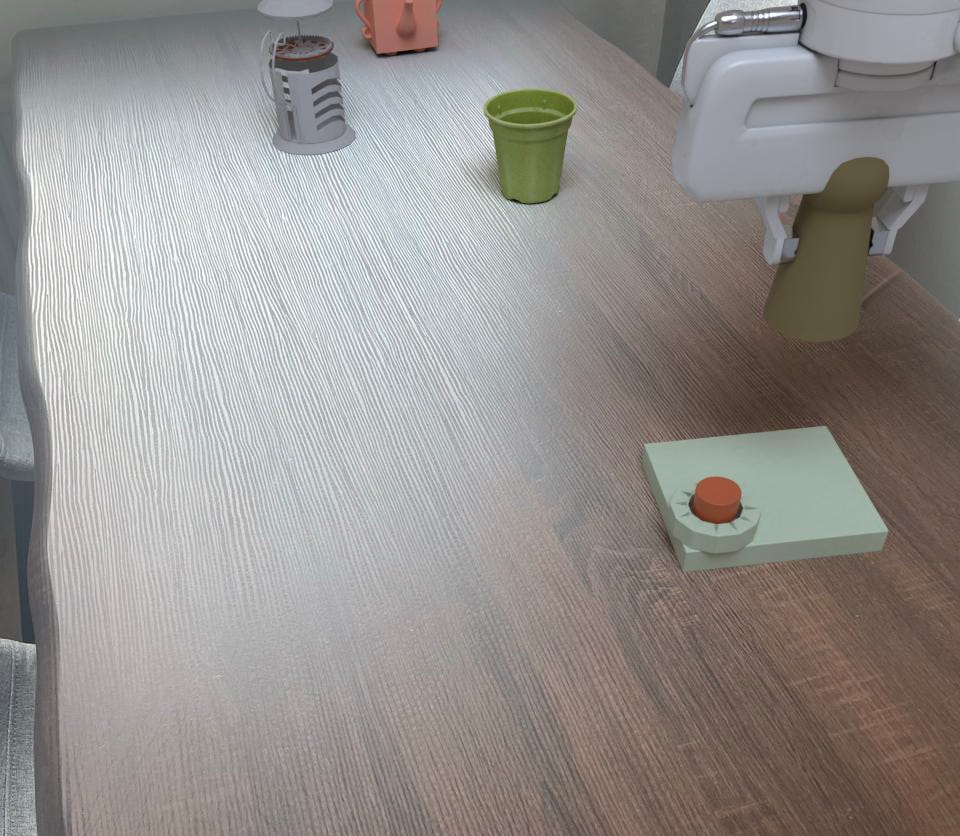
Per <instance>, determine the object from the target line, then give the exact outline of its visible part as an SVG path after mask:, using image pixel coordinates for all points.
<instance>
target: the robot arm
mask: <svg viewBox="0 0 960 836" xmlns="http://www.w3.org/2000/svg"><path fill="white" fill-rule="evenodd" d="M711 31H714V34H708V33H710V32H711ZM680 88H681V93H682V95H683V99H682V103H681V107H680V110H679V115H678V119H677V124H676V129H675V133H674V138H673V144H672V150H671V158H670V167H671V168H670V169H671V172H672V175H673V177H674V179H675V181H676V183H677V184H678V186H679V187H680V189H681V190H682V192H683V193H684V194H685V195H686V197H687V198H688V199H689V200H691V201H692V203H695V204H706V203H717V202H718V203H719V202H720V203H721V202H729V201H730V202H731V201H741V200H742V201H743V200H754V202H755V205H756V208H757V210H758V213H759V215H760V217H761V220H762V223H763V224H764V227H765V228H766V230H765V234H764V235H765V236H764V241H763V245H762V246H763V247H762V254H763V258H764V260H765V261H766V263H767V264H768V266H775V265H776V266H777V265H778V266H779V264H788V263H793V262H794V261H795V259H796V254H795V251H796V250H797V249H798V245H799V240H800V237H799V236H798V234H797V233H796V232H793V231H794V229H793V227H792V226H793V225H791V223H790V224H789V223H788V224H783V223H782V220H781V218H780V215H779V213H787V212H788V211H789V207H790V203H791V200H792V199H791V198H792V196H801V195H802V196H803V194H815V193H821V192H822V191H823V190H824V188H825V186H826V184H827V182H828V180H829V179H830V177H831V175H832V173H833V172H834V171H835V170H836V169H837V168H838V167H839V165H840V164H841V163H843V162H846V161H849V160H852V159H855V158H862V157H875V158H879V159H882V160H884V161H885V163H886V164H887V165H888V167H889V181H888V188H891V189H892V190H893V192H892V194H891V195H890V197H889V198H888V199H887V201H886V202H885V203H884V205H883V206H882V208H881V209H880V210H879V211H878V213H877V214H876V216H873V217H872V225H871V233H870V241H869V249H868V257H879V256H888V255H890V254H892V251H893V247H894V244H895V240H896V237H897V235H898V231H899V230H901V228H902V227H903V226H904V225H905V224H906V223H907V222H908V220H909V219H910V218H911V217H912V216H913V215H914V214H915V213H916V212H917V210H919V208H920V207H921V206H922V205H923V204H924V203H925V201H926V199H927V196H928V192H929V189H930V186H931V185H933V184H934V185H935V184H945V183H946V184H947V183H956V182H957V183H959V182H960V0H797V3H796V4H793V5H784V6H771V7H767V8H761V9H757V10H747V11H745V10H743V9H729V10H724V11H721V12H719V13H716V15H715V17H714V20H710V21H709V22H707V23H704V24H703V25H701V26H700V27H699V28H698V29H697V30H696V31H695V32H694V33H693V35H691V37H690V38H689V39H688V40H687V43H686V46H685V48H684V52H683V60H682V67H681V76H680Z"/></svg>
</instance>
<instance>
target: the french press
mask: <svg viewBox="0 0 960 836" xmlns="http://www.w3.org/2000/svg"><path fill="white" fill-rule="evenodd" d="M333 1H334V0H261V1H260V2H259V3H258V4H257V12H258V13H259V14H260V15H261V16H262V17H263V18H265V19H268V20H272V21H276V22H277V21H278V22H296V26H297V32H298V35H297V34H295V35H292V36H291V35H290V36H286V34H285V32H284V31H282V32H279V34H278V36H277V38H276V39H274V35H273V32H272V29H270V30H269V29H268V30H267V31H266V32H265V34H264V35H263V38H262V40H261V43H260V44H261V45H260V50H259V62H258V64H259V65H258V67H259V73H260V79H261V84H262V87H263V90H264V92H265V93H266V96H267V97H268V98H269V100H270V101H271V102H273V103H274V105H275V113H276V118H277V124H278V129H277V131H276V132H275V133H274V135H272V145H273V146H274V147H275V148H276V149H277V150H279V151H282V152H285V153H288V154H291V155H302V156H311V155H322V154H328V153H331V152H335V151H339V150H341V149H343V148H345V147H347V146H349V145H351V143H352V142H353V141H354V140H355V139H356V131H355V129H353V128H352V127H351V126H350V125H349V124H348V123H347V122H346V118H344V117H345V116H346V114H345V107H344V106H343V105H344V97H343V94H341V93H343V90H342V84H341V83H340V81H341V71H340V63H339V57H338V55H336V54H335V53H334V52H332V51H333V50H334V47H335V46H334V42H333V41H332V40H331V39H330V38H329V37H326V36H322V35H317V34H315V35H314V34H313V35H312V34H307V35H306V34H304V35H303V34H301V27H300V21H303V20H309V19H314V18H317V17H320V16H323V15H325V14H326V13H328V12H329V11H330V10H331V9H332V8H333V5H334V2H333ZM268 35H269V36H270V40H271V42H272V43H271V44H270V45H269V47H268V53H269V54H270V55H271V56H272V57H271V58H270V60H269V62H268V69H269V75H270V81H271V88H272V93H273V97H272V96H271V95H270V93H269V91H268V88H267V86H266V82H265V77H264V72H263V60H262V59H263V51H264V45H265V41H266V38H267V37H268ZM276 69H280V70H283V71H287V72H303V71H306V70H308V73H307V72H306V73H286V75H283V74H282V72H280V71H277V70H276ZM284 83H287V85H288V87H284ZM285 95H289V99H287V98H286V96H285ZM287 106H289V107H291V110H288V109H287V108H288V107H287Z"/></svg>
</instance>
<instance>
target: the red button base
mask: <svg viewBox="0 0 960 836" xmlns="http://www.w3.org/2000/svg"><path fill="white" fill-rule="evenodd" d="M641 457H642V458H641V466H642V468H643V472H644V474H645V476H646V478H647V482H648V483H649V487H650V489H651V492H652V494H653V497H654V500H655V503H656V505H657V508H658V511H659V513H660V516H661V518H662V520H663V524H664V527H665V529H666V532H667V534H668V537H669V540H670V542H671V545H672V548H673V550H674V554H675V555H676V558H677V561H678V563H679V567H680V569H681V571H682V573H692V572H700V571H708V570H719V569H728V568H734V567H735V568H736V567H737V568H738V567H746V566H757V565H765V564H773V563H782V562H783V563H784V562H792V561H801V560H802V561H803V560H811V559H820V558H829V557H830V558H831V557H838V556H839V557H840V556H847V555H848V556H849V555H857V554H866V553H876V552H882V551H883V548H884V545H885V542H886V540H887V537H888V534H889V532H890V531H889V528H888V527H887V525H886V524H885V522H884V520H883V519H882V517H881V514H879V512H878V510H877V508H876V507H875V505H874V503H873V502H872V500H871V498H870V497H869V494H868V493H867V492H866V490H865V488H864V487H863V484H862V483H861V482H860V480H859V478H858V476H857V475H856V473H855V472H854V470H853V468H852V466H851V465H850V463H849V461H848V460H847V458H846V457H845V455H844V454H843V452H842V450H841V448H840V447H839V445H838V443H837V442H836V440H835V438H834V436H833V435H832V433H831V431H830V430H829V428H828V426H826V425H819V426H811V427H801V428H800V427H799V428H790V429H781V430H779V429H778V430H770V431H762V432H761V431H760V432H759V431H758V432H751V433H749V432H748V433H740V434H731V435H730V434H729V435H719V436H708V437H700V438H690V439H689V438H688V439H679V440H670V441H659V442H649V443H644V444H643V451H642V456H641ZM714 476H718V477H724V478H728V479H730V480H732V481H734V482H735V483H737V484H738V485H739V487H740V489H741V492H742V494H741V499H740V504H739V509H738V513H737V516H736V518H735V519H734V520H733V521H731V522H729V523H723V524H713V523H709V522H705V521H702V520H700V519H699V518H697V517H696V516H695V514H694V513H693V509H692V507H693V501H694V495H695V489H696V486H697V484H698V483H699V482H700V481H701V480H703V479H705V478H708V477H714Z"/></svg>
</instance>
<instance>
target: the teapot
mask: <svg viewBox="0 0 960 836" xmlns="http://www.w3.org/2000/svg"><path fill="white" fill-rule="evenodd" d="M361 3H362V7H363V12H362V10H361V8H360V7H361ZM442 5H443V0H355V1H354V10H355V13H356V14H357V16H358V18H359V19H360V20H361V22H362V23H363V24H364V26H363V27H362V28H361V35H362V38H364V39H365V40H368V42H369V44H370V46H371V47H372V49H373V50H374V51H375V53H376V54H377V55H379V54H381V55H382V54H385V55H386V56H395V55H397V54H398V52H404V51H412V50H413V52H418V53H420V52H424V50H425V51H426V49H428V48H436V47H438V46H439V42H438V41H439V40H438V39H439V38H438V30H439V28H440V20H439V19H438V18H437V15H438V14H439V13H438V12H439V11H440V9H441V7H442Z"/></svg>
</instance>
